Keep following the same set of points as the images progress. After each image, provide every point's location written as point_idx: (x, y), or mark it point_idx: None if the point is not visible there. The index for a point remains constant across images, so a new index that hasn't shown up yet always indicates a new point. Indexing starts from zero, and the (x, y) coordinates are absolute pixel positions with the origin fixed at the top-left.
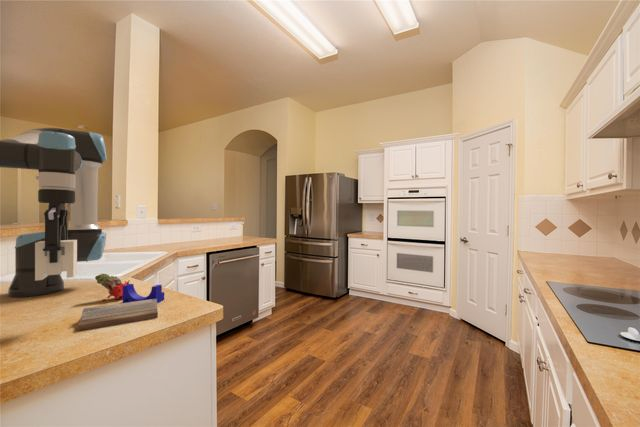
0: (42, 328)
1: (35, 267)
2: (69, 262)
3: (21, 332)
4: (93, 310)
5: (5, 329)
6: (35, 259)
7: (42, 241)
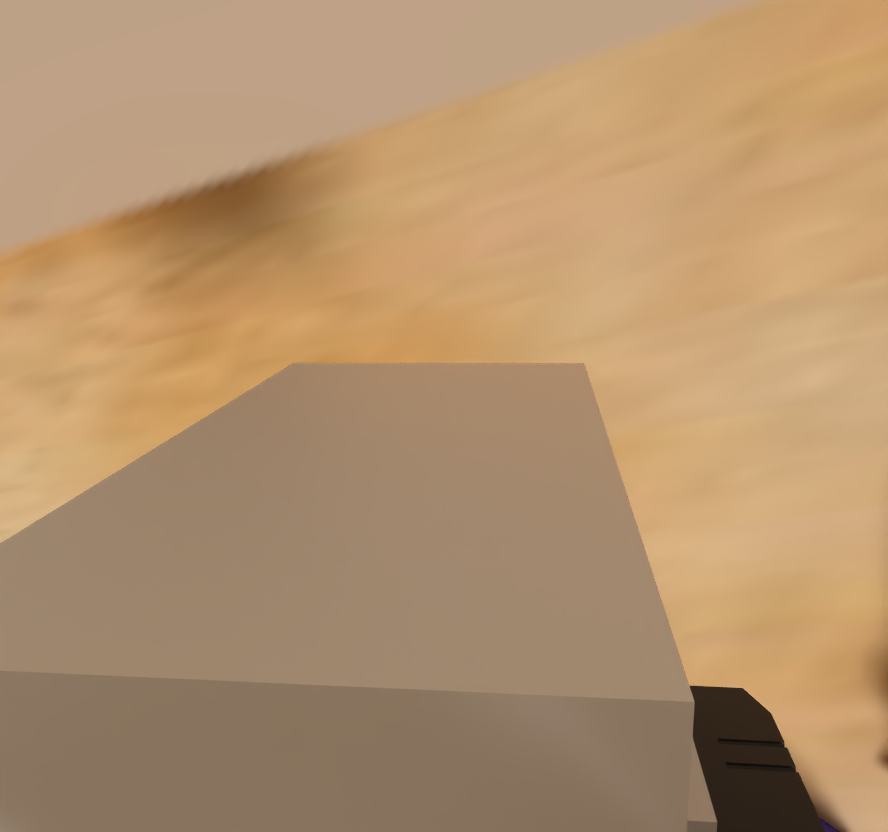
0: (393, 341)
1: (224, 412)
2: None
3: (372, 223)
4: None
5: (521, 79)
6: (157, 456)
7: (368, 799)
